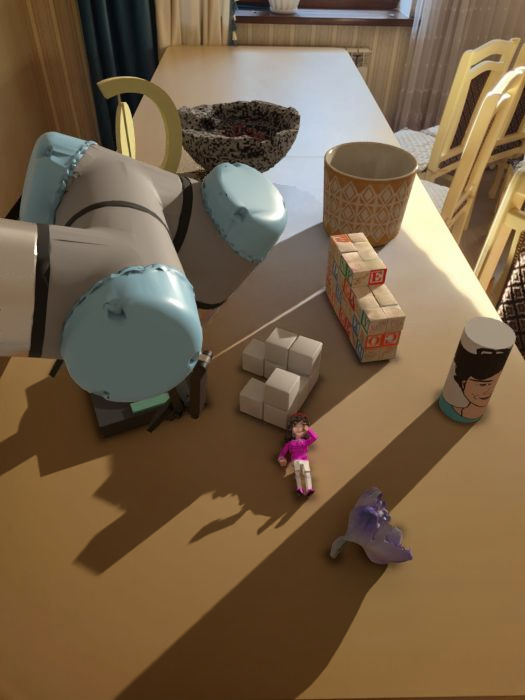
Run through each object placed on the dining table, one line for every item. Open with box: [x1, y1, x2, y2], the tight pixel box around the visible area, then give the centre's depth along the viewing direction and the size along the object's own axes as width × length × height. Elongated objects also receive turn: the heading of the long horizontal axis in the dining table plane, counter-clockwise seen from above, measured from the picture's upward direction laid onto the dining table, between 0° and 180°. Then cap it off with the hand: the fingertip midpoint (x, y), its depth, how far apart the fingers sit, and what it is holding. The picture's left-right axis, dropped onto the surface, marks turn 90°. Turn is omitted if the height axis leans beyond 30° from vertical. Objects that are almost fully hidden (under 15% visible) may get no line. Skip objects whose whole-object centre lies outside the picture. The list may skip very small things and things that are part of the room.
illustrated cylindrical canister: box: [438, 316, 517, 424], centre depth 79 cm, size 7×7×15 cm
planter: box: [322, 141, 419, 248], centre depth 117 cm, size 19×19×16 cm
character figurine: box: [277, 412, 319, 498], centre depth 74 cm, size 6×5×12 cm
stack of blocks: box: [325, 233, 407, 363], centre depth 94 cm, size 21×6×12 cm, turn 12°
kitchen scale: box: [89, 372, 208, 439], centre depth 86 cm, size 16×18×3 cm
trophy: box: [96, 75, 196, 180], centre depth 117 cm, size 19×19×30 cm
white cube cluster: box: [239, 327, 323, 430], centre depth 83 cm, size 12×12×8 cm
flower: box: [329, 486, 414, 565], centre depth 64 cm, size 9×9×10 cm
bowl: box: [177, 99, 301, 174], centre depth 140 cm, size 31×31×15 cm
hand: (105, 396), depth 68 cm, fingers open, 13 cm apart
